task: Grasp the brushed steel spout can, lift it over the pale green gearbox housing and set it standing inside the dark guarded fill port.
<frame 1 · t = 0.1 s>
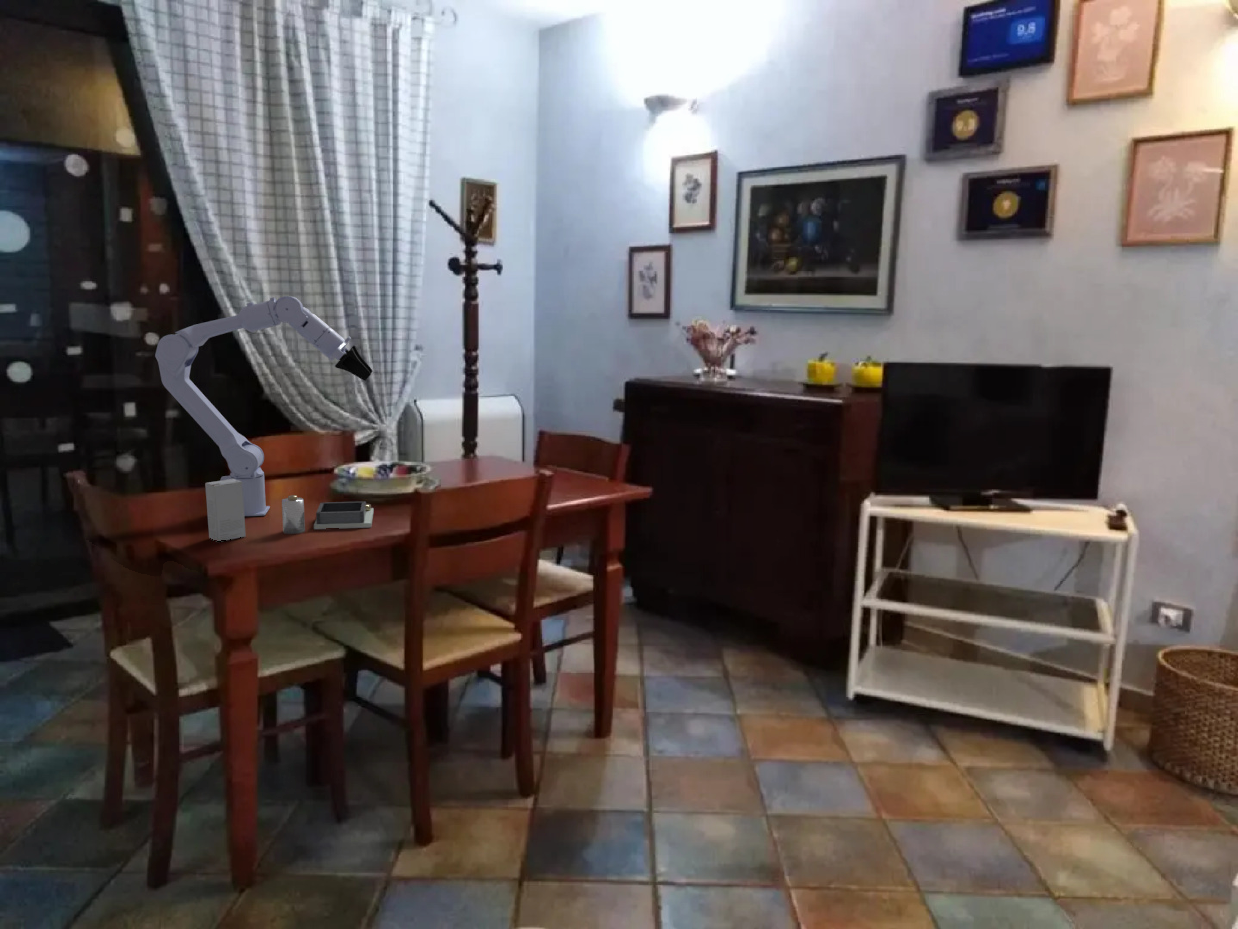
hand: (369, 375, 201), 32 cm above the table, tool tilted 50°, fingers open, 7 cm apart
gearbox housing: (345, 520, 197), on the table
skincare box: (227, 539, 180), on the table
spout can: (294, 531, 187), on the table
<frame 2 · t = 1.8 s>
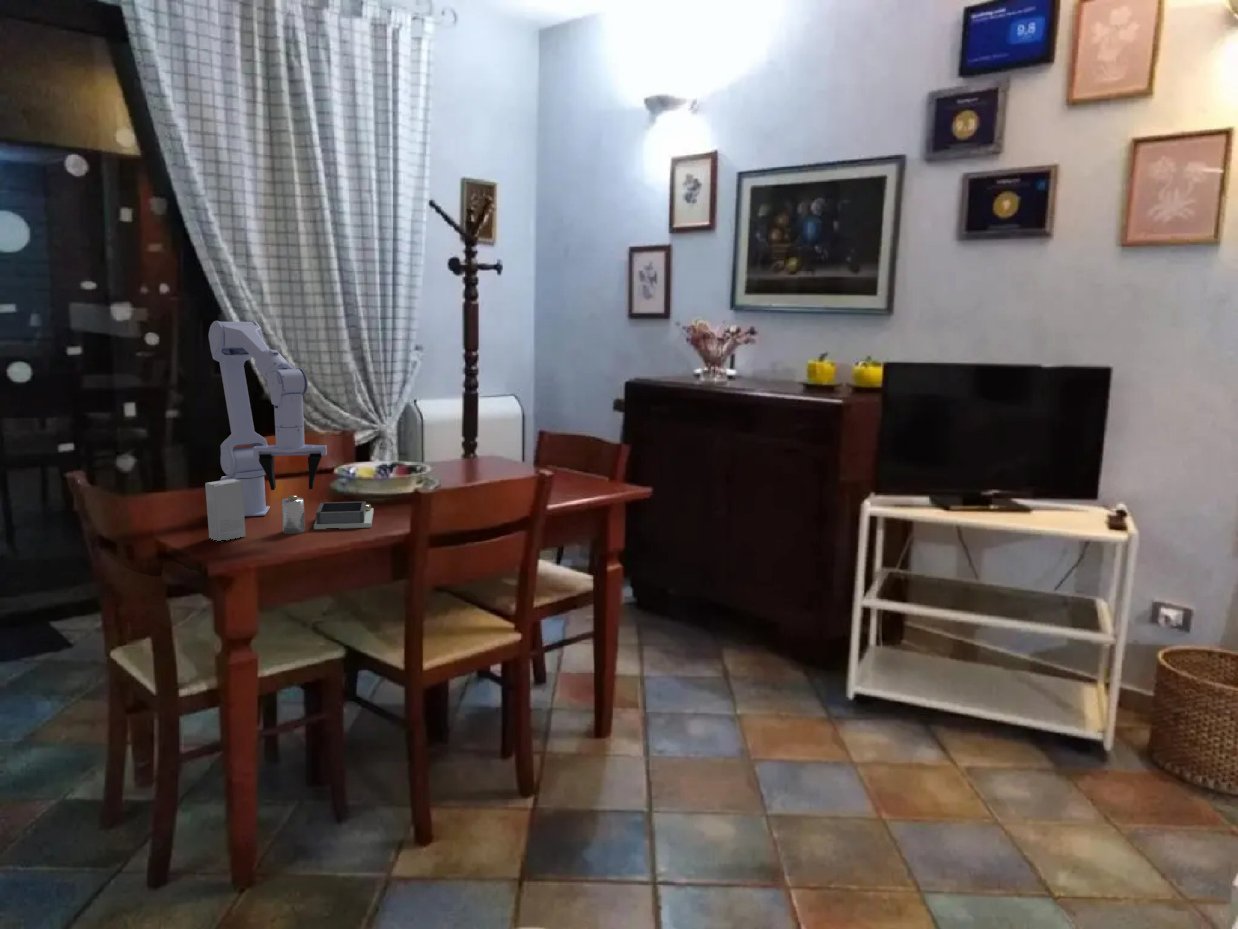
hand: (292, 488, 185), 9 cm above the table, tool pointing down, fingers open, 7 cm apart
nothing on the table moved.
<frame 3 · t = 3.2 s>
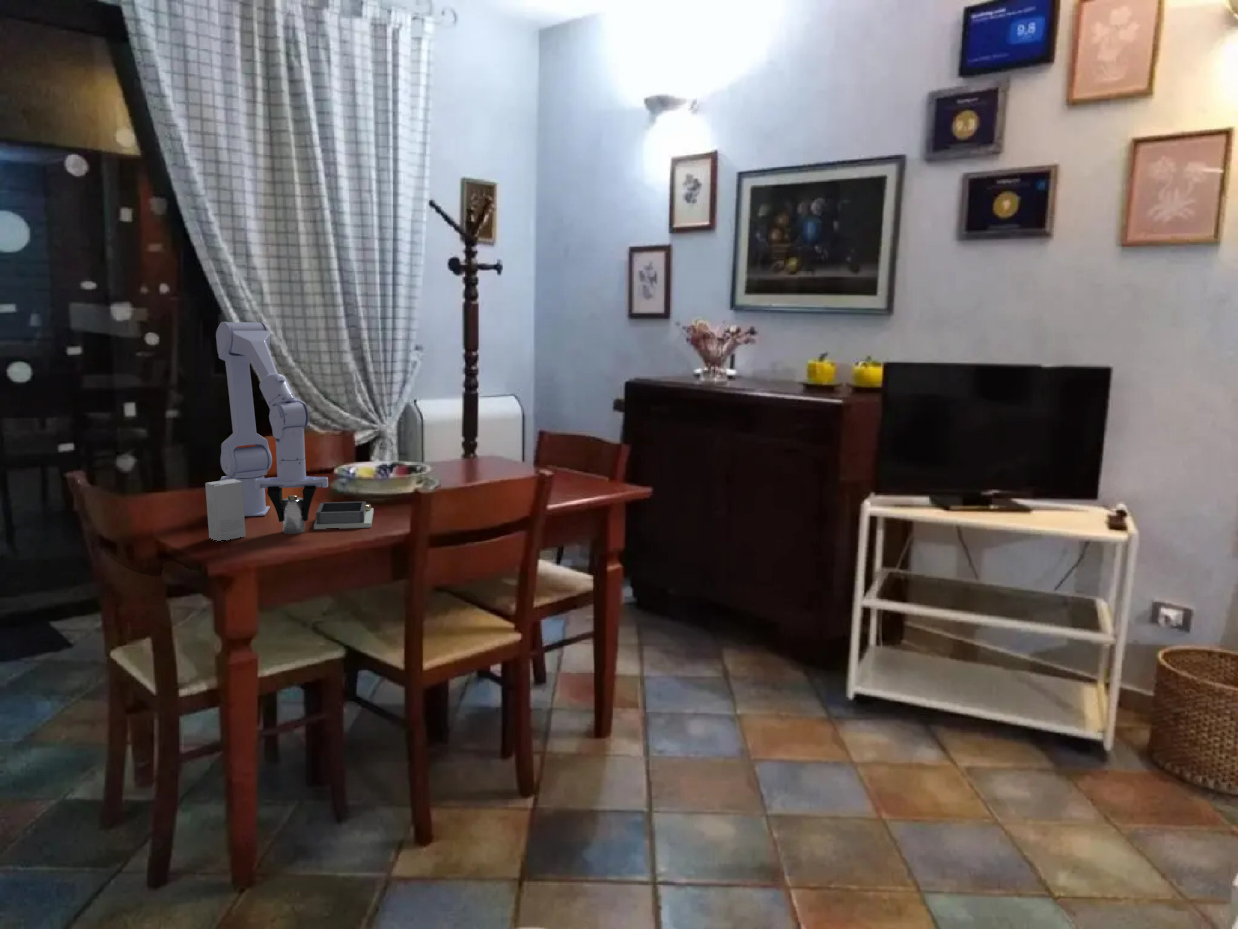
hand: (293, 520, 186), 2 cm above the table, tool pointing down, fingers closed on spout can, 4 cm apart
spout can: (294, 531, 187), on the table, touching gripper
everything else where it was.
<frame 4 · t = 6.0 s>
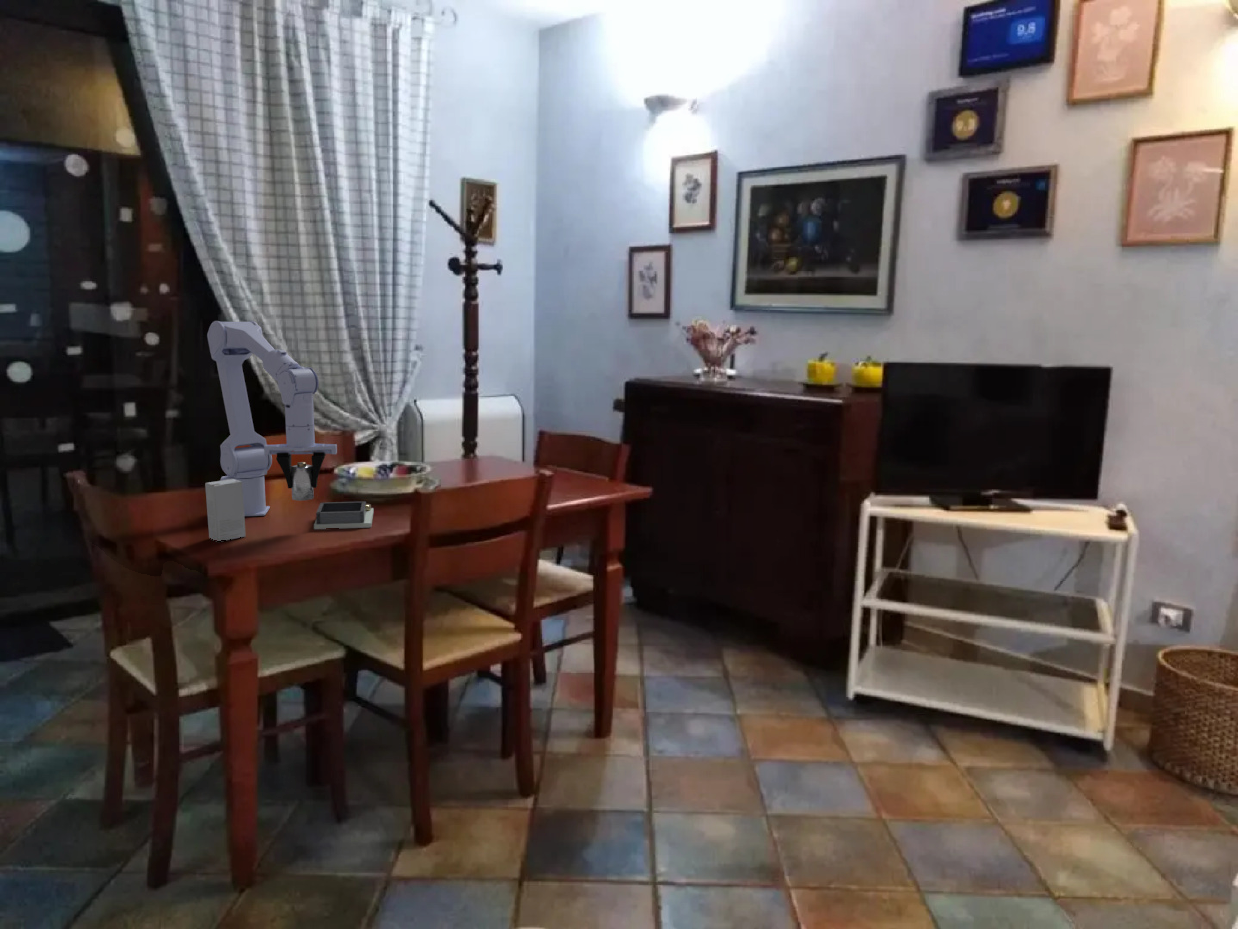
hand: (302, 487, 187), 9 cm above the table, tool pointing down, fingers closed on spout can, 4 cm apart
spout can: (303, 498, 187), point 7 cm above the table, touching gripper
everything else where it was.
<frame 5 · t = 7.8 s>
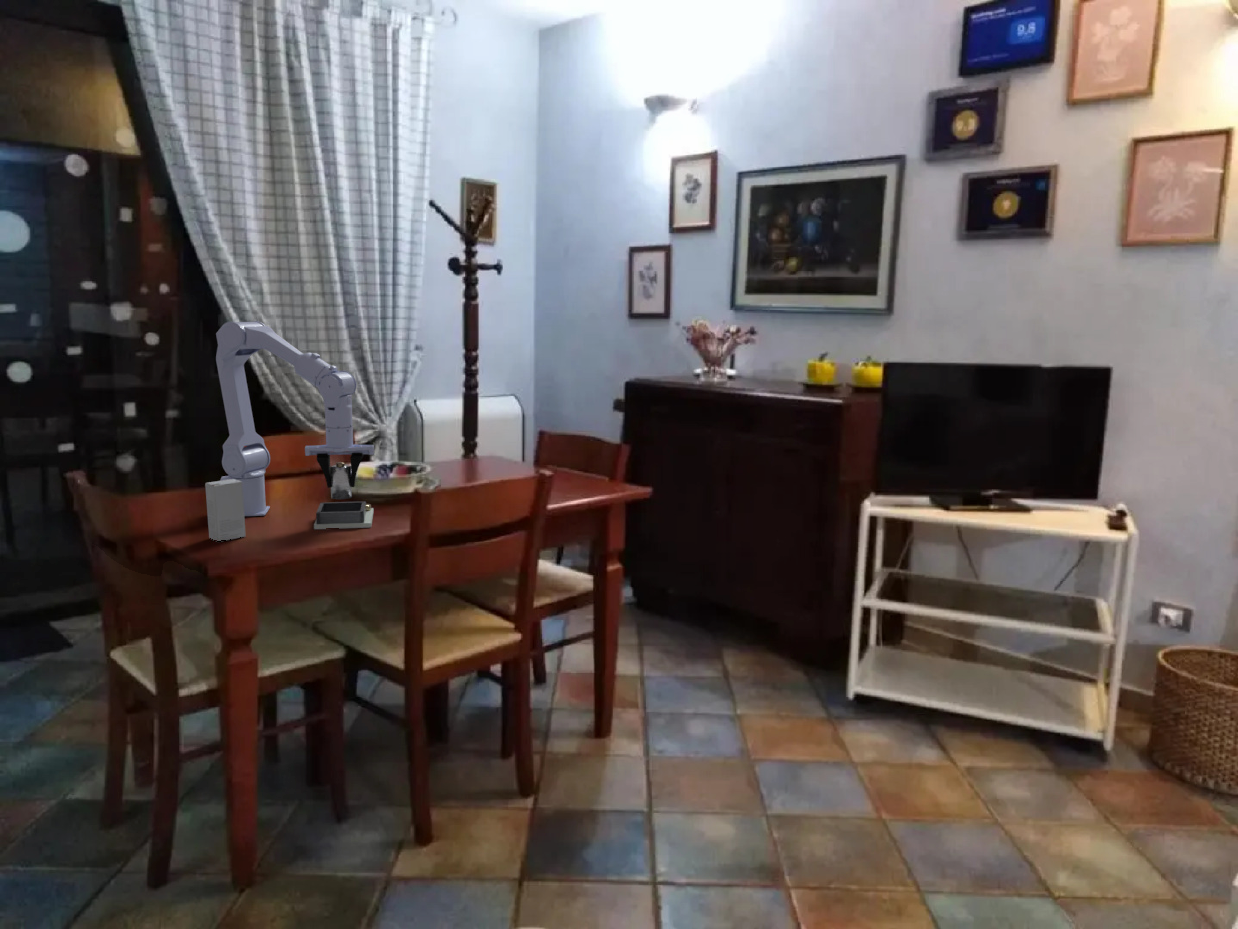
hand: (341, 486, 194), 8 cm above the table, tool pointing down, fingers closed on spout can, 4 cm apart
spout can: (341, 497, 194), point 6 cm above the table, touching gripper
everything else where it was.
when the fingers open (4 cm above the table, at t = 9.0 s): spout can stays where it is, resting on gearbox housing.
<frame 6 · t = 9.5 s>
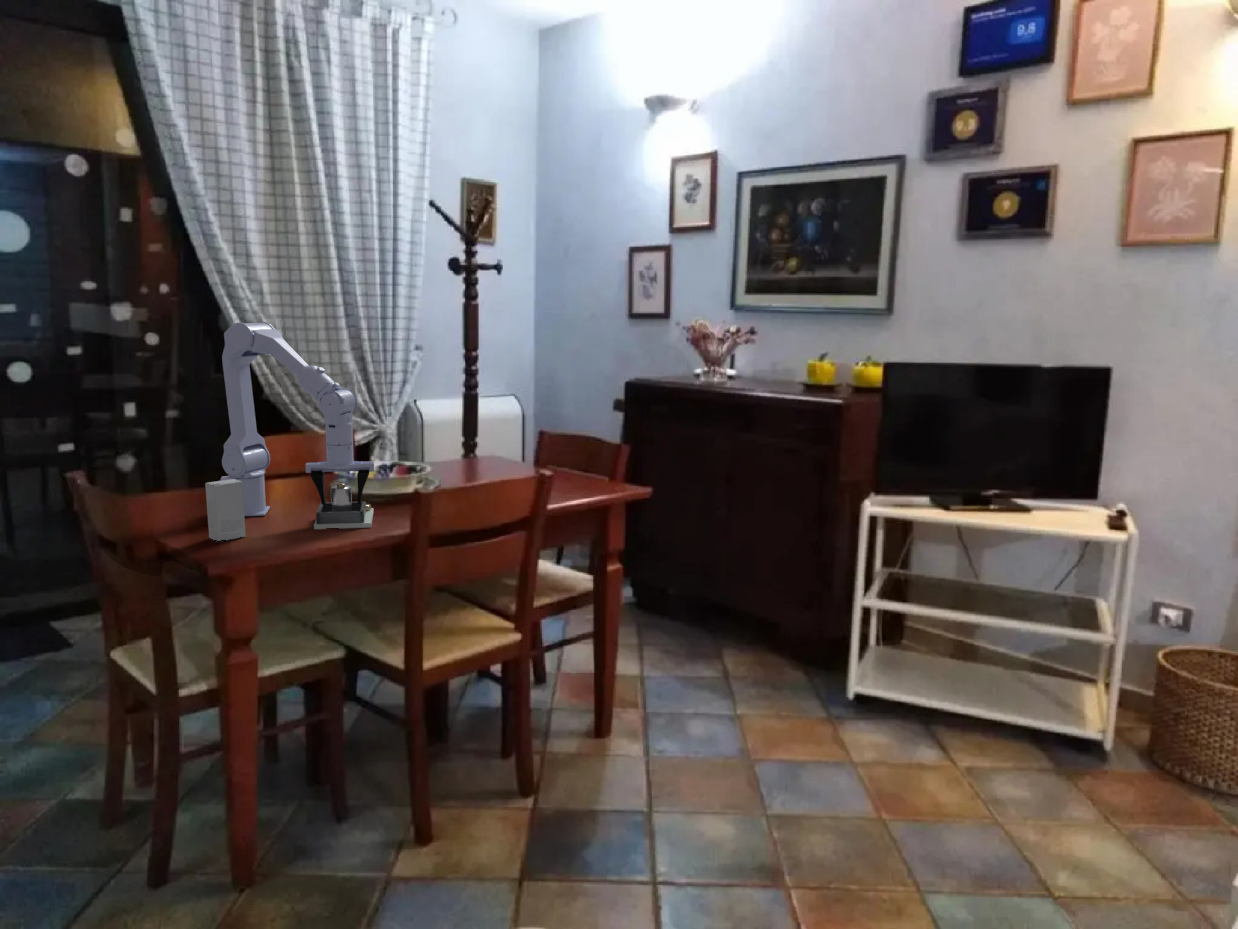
hand: (341, 503, 194), 4 cm above the table, tool pointing down, fingers open, 7 cm apart
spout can: (342, 517, 195), point 1 cm above the table, touching gearbox housing
everything else where it was.
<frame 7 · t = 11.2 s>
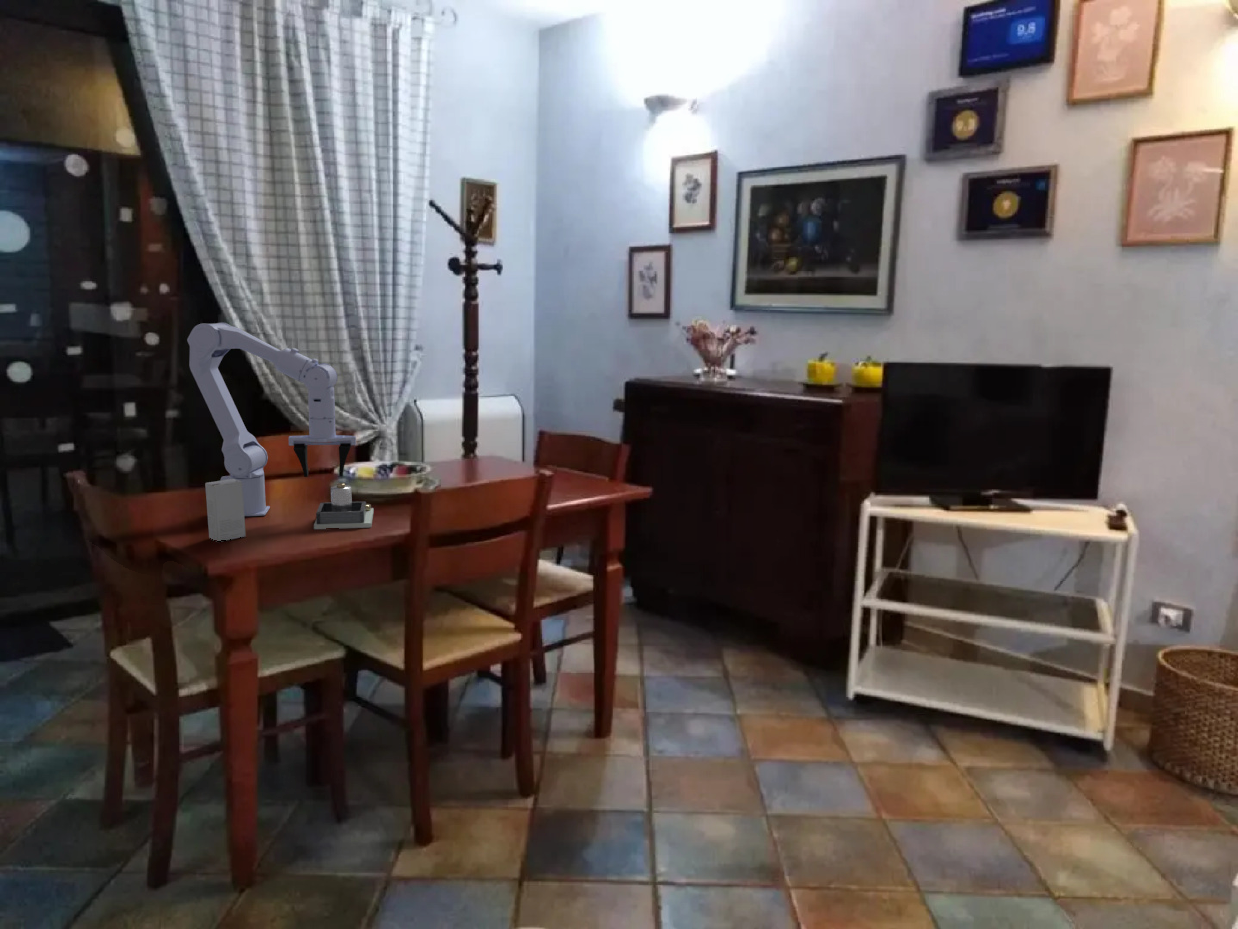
hand: (323, 475, 199), 9 cm above the table, tool pointing down, fingers open, 7 cm apart
nothing on the table moved.
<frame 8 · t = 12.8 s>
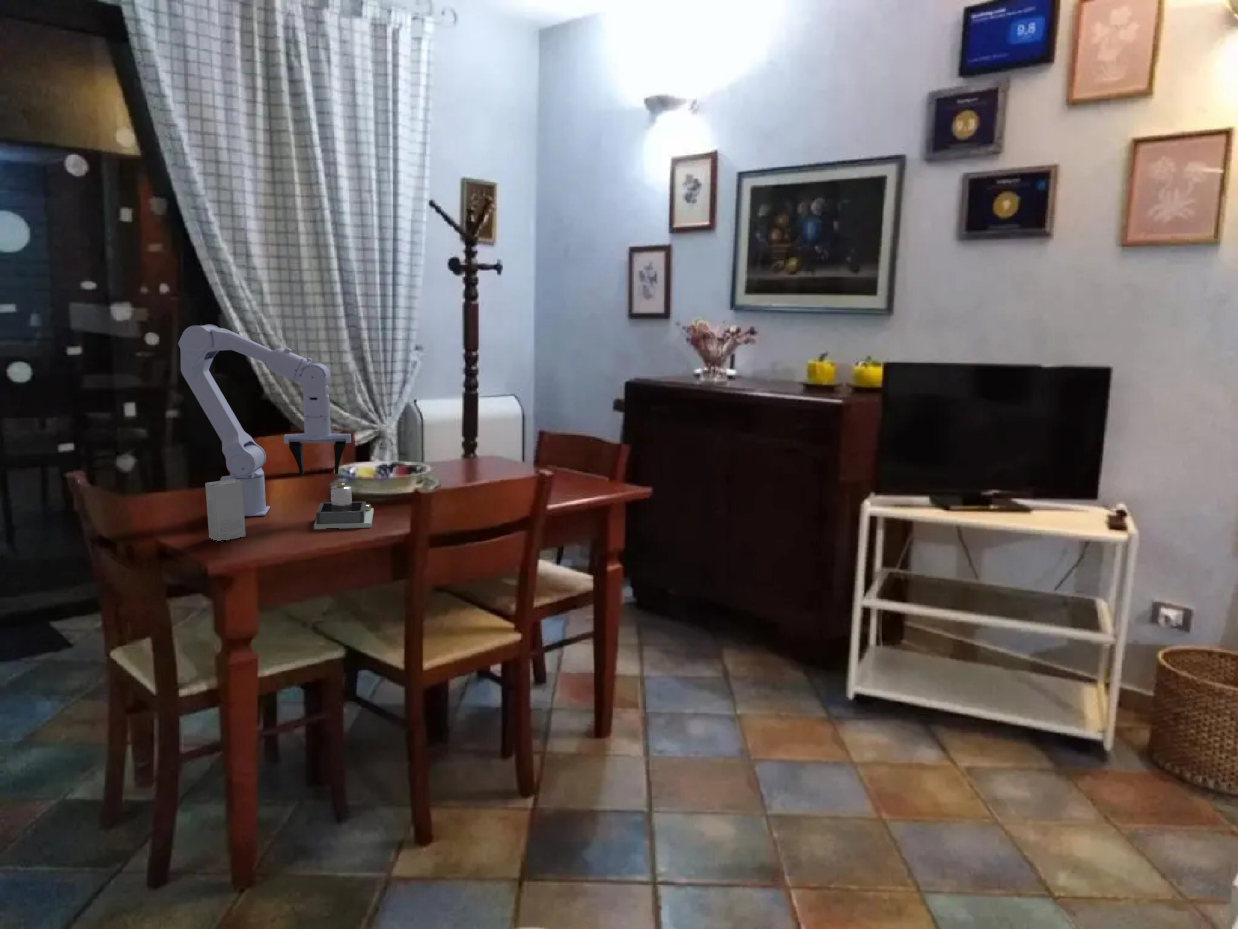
hand: (319, 473, 201), 9 cm above the table, tool pointing down, fingers open, 7 cm apart
nothing on the table moved.
at the end: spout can 0.0 cm from the target spot on the gearbox housing, point 1.1 cm above the gearbox housing's base; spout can tilted 1°; the gripper is holding nothing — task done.
